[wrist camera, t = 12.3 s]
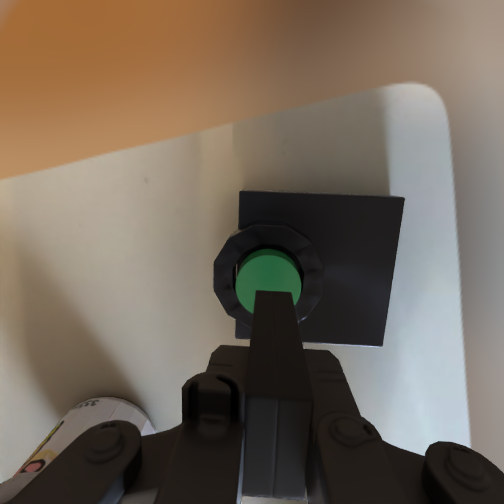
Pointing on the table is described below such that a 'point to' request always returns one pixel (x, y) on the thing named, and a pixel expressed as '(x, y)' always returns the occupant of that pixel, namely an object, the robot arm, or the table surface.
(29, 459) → the beverage can
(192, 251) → the table surface
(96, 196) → the table surface
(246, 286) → the open button
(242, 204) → the box
